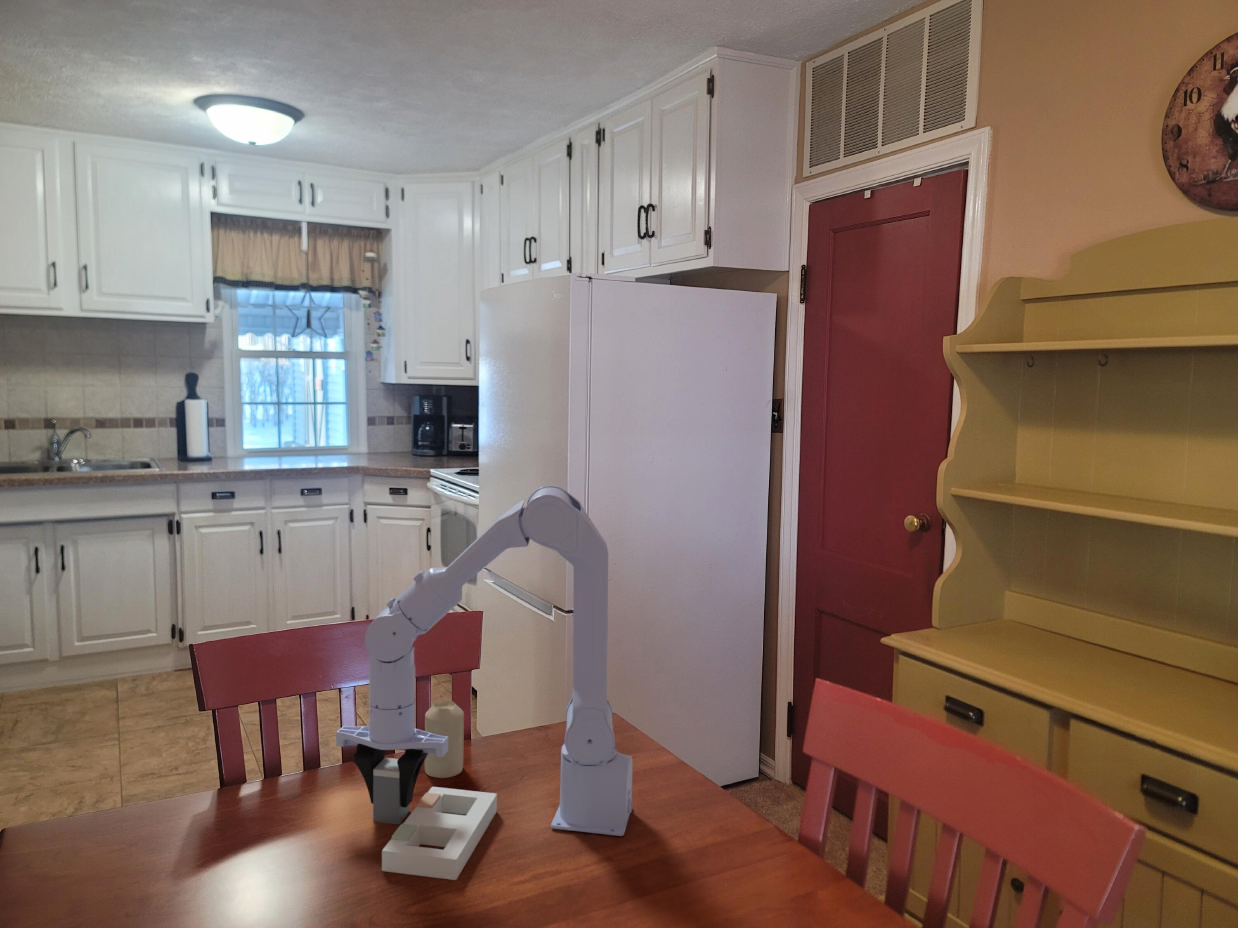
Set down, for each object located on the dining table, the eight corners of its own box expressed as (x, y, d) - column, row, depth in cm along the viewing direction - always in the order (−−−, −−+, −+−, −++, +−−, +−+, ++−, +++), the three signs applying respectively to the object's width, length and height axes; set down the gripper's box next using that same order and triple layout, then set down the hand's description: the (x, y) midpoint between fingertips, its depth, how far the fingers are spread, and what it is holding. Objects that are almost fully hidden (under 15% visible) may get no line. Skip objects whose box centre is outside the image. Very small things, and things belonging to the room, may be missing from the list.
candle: (454, 780, 124) (455, 712, 123) (418, 775, 125) (418, 708, 124) (468, 763, 129) (469, 698, 128) (434, 759, 130) (434, 695, 129)
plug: (409, 810, 115) (410, 760, 114) (399, 824, 111) (399, 771, 111) (384, 807, 115) (384, 757, 115) (373, 821, 112) (373, 769, 111)
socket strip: (496, 811, 115) (497, 790, 115) (456, 879, 100) (456, 856, 99) (432, 804, 117) (432, 783, 116) (381, 870, 101) (382, 847, 101)
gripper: (456, 694, 115) (455, 793, 116) (353, 685, 117) (353, 781, 118) (437, 715, 108) (436, 819, 109) (328, 705, 110) (328, 807, 111)
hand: (391, 801), depth 113 cm, fingers closed on plug, 3 cm apart
